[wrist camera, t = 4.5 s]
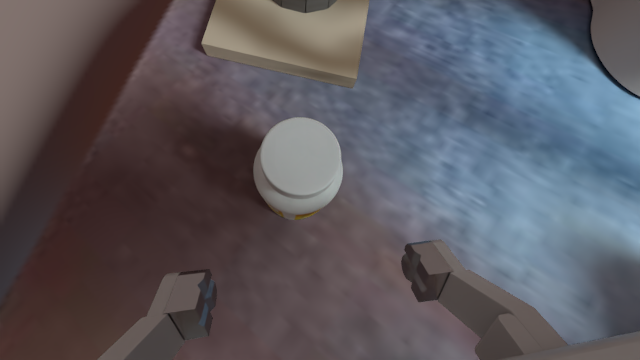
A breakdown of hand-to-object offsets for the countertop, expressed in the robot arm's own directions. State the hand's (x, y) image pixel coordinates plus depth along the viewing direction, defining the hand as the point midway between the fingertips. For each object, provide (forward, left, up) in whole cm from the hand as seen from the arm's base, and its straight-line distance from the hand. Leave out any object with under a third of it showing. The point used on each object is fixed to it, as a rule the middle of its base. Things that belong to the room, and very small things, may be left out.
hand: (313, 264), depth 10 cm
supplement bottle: (-2, -5, -10) cm, 12 cm away
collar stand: (-13, -23, -10) cm, 28 cm away
